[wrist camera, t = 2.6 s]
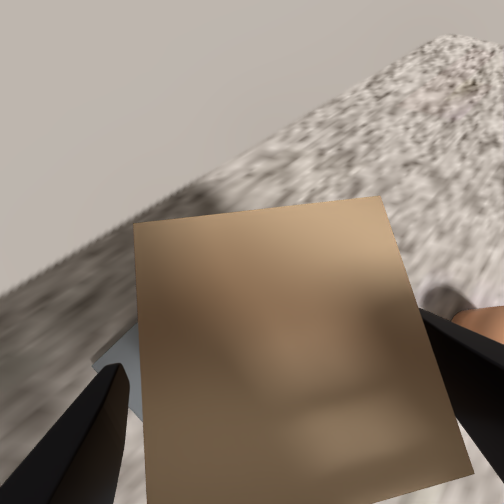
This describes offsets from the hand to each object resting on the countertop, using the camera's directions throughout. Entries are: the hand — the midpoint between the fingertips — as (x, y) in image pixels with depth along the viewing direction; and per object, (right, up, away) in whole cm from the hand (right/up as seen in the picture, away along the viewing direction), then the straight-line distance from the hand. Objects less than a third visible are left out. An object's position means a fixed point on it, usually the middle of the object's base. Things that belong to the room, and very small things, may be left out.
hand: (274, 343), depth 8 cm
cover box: (-1, -2, +8) cm, 8 cm away
